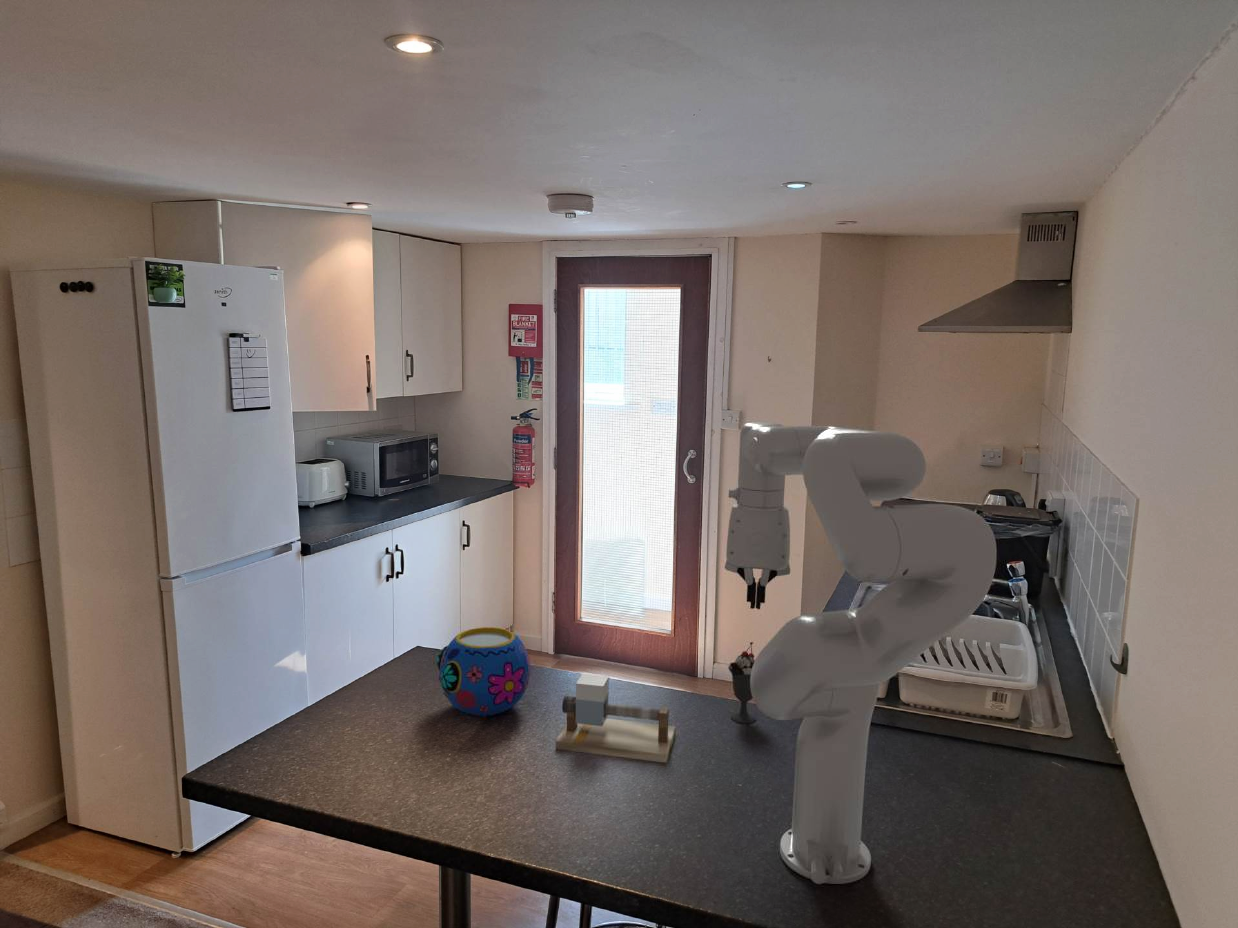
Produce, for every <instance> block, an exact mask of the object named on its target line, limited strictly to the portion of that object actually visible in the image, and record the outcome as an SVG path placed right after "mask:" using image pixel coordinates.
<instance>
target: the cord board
mask: <svg viewBox="0 0 1238 928" xmlns="http://www.w3.org/2000/svg"><path fill="white" fill-rule="evenodd" d="M561 705H562V706H561V709H562V713H563V714H566V724H565V725H564V727H563V728H562V730H561V732H560V734H559V735H558V736H557V739H556V740H555V749H556V750H562V751H570V752H578V753H579V752H580V753H586V754H593V755H604V756H610V757H618V758H625V759H626V758H627V759H634V760H642V761H648V762H649V761H651V762H658V763H666V764H667V762H668V759H669V755H670V751H671V749H672V746H673V743H674V740H675V739H674V738H675V736H676V725H669V710H670V709H669V707H666V706H665V707H664V706H660V708H654V707H653V708H652V707H645V706H644V707H643V706H635V705H627V704H626V705H625V704H618V703H617V704H615V703H609V702H608V703H604V714H605V715H608V716H614V717H622V718H623V717H624V718H630V719H631V718H633V719H638V720H639V719H640V720H649V721H658V724H657V723H648V722H641V721H640V722H639V721H631V720H622V719H615V718H608V717H607V718H606V720H605V722H604V724H603V726H595V725H587V724H578V723H576V696H572V695H571V696H569V695H565V696H564V697H563V700H562V704H561Z"/></svg>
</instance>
